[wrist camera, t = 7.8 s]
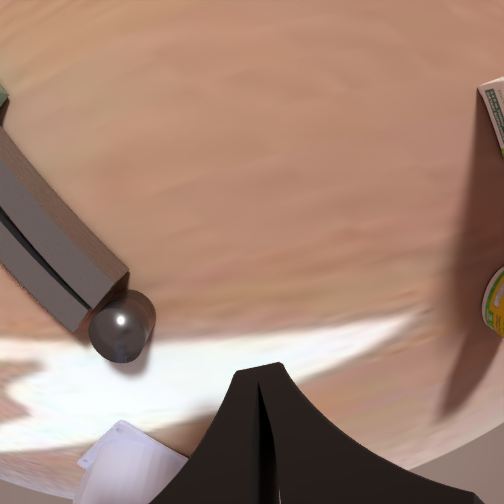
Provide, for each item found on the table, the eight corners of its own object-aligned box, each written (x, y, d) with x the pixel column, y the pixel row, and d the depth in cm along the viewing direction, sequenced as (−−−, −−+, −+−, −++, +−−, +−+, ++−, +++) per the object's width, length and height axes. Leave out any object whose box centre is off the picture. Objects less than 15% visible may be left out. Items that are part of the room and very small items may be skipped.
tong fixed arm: (119, 366, 19) (103, 395, 16) (-67, 163, 14) (-93, 166, 11) (165, 312, 18) (153, 339, 15) (-40, 103, 14) (-67, 99, 10)
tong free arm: (149, 246, 17) (135, 258, 14) (109, 292, 17) (93, 309, 15) (-17, 61, 13) (-38, 54, 10) (-44, 105, 13) (-65, 102, 11)
